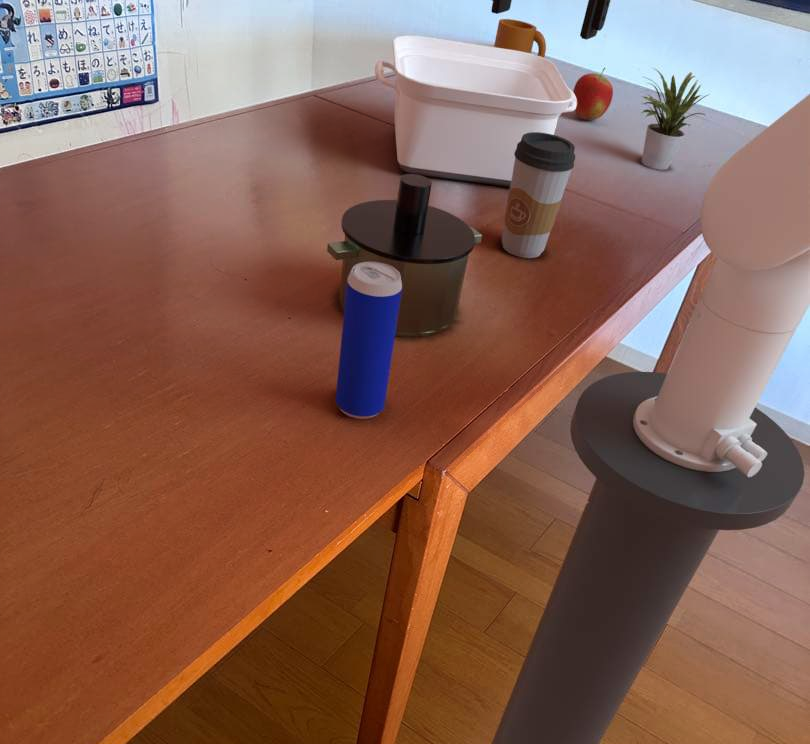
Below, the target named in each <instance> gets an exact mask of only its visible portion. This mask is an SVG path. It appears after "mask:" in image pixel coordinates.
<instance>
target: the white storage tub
mask: <svg viewBox="0 0 810 744" xmlns="http://www.w3.org/2000/svg"><path fill="white" fill-rule="evenodd" d="M391 41H392V51H393V64H392V63H390V62H387V61H386V60H382V59H379V60H377V61H376V64H375V67H374V75H375V79H377V81H379V82H380V83H381V84H382V85H384V86H386V87H390V88H392V89H394V91H395V99H394V100H395V101H394V102H395V104H394V129H395V130H394V132H395V145H396V156H397V162H398V165H399V168H400V169H401V170H402V171H403V172H405V173H406V174H416V175H421V176H424V177H434V178H442V179H448V180H455V181H463V182H471V183H479V184H487V185H494V186H500V187H501V186H502V187H509V188H510V186H511V180H512V174H513V168H514V162H515V155H514V153H515V151H516V149H517V144H518V143H519V142H520V141H521V139H522V136H523V135H524V134H526V133H531V132H540V133H547V134H552V135H555V132H556V128H557V124H558V122H559V117H560V116H561V114H562V113H571V112H575V109H576V106H577V99H576V96H575V94H574V93H573V91H574V90H572V89H570V88H569V87H568V85H567V83H566V81H565V80H564V78H563V76H562V75H561V72H560V71H559V69H558V68H557V65H556V64H555V63H553V61H551V60H549V59H548V58H545V57H544V58H543V57H540V56H537V55H538V54H534V53H532V52H531V53H526V52H521V51H516V50H509V49H503V48H496V47H494V46H488V45H482V44H478V43H477V44H476V43H469V42H463V41H457V40H450V39H443V38H437V37H430V36H424V35H413V34H412V35H411V34H410V35H408V34H407V35H399V36H395V37H394V38H393V39H392V40H391ZM384 68H389V69H391V70H392V71H393V72H394V75H395V83H394V82H391V81H390V80H388V79H387V78H385V76H384V70H385V69H384Z"/></svg>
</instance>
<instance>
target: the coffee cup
mask: <svg viewBox="0 0 810 744" xmlns="http://www.w3.org/2000/svg"><path fill="white" fill-rule="evenodd" d="M575 150H576V147H575V145H574V143H573V142H571V141H570V140H569V139H566V138H565V137H561V136H559V135H555V134H554V135H552V134H547V133H540V132H531V133H526V134H524V135H523V136H522V139H521V141H520V142H519V143H518V144H517V149H516V151H515V153H514V155H515V162H514V168H513V174H512V180H511V186H510V187H509V189H508V196H507V202H506V208H505V214H504V225H503V229H502V236H501V244H502V248H503V250H505V251H506V252H507V253H508V254H511V255H513V256H515V257H519V258H525V259H532V258H538V257H539V256H541V254H542V253H544V251H545V249H546V245H547V242H548V239H549V237H550V234H551V231H552V229H553V227H554V224H555V221H556V219H557V216H558V212H559V210H560V206H561V204H562V200H563V195H564V192H565V189H566V187H567V185H568V180H569V178H570V175H571V172H572V170H573V169H574V167H575V160H576V154H575Z"/></svg>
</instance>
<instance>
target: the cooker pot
mask: <svg viewBox="0 0 810 744" xmlns="http://www.w3.org/2000/svg"><path fill="white" fill-rule="evenodd" d="M469 227H470V228H471V229H472V231H473V233H474V235H475V244H481V243H482V239H483V238H482V237H483V235H482V234H481V233H480V232H479V231H477V230H476V228H474V227H473V226H469ZM326 249H327V250H326V252H327V253H328V254H329V255H330V256H331V257H332V258H333V259H334V260H335V261H340V260H341V261H342V262H341V263H342V264H341V272H340V273H341V274H340V284H339V285H340V286H339V303H340V307H341V309H342V310H343V312H344V309H345V298H346V288H347V279H348V276H349V274H350V272H351V269H352V268H353V266H355V265H356V264H359V263H362V262H379V263H383V264H387V265H389V266H392V267H394V268H395V269H396V270H398V271H399V273H400V275H401V282H402V292H401V299H400V306H399V312H398V319H397V326H396V332H395V337H402V338H423V337H429V336H432V335H436V334H439V333H442V332H444V331H446V330H447V329H449V328H450V327H451V326H452V325H453V323H454V321H455V318H456V315H457V313H458V308H459V304H460V299H461V295H462V291H463V290H462V289H463V284H464V280H465V276H466V275H465V274H466V271H467V270H466V269H467V265H468V260H469V255H470V253H469V254H468V255H467V256H465V257H463V258H461V259H459V260H456V261H452V262H448V263H441V264H415V263H407V262H401V261H396V260H391V259H388V258H384V257H381V256H378V255H375V254H373V253H371V252H368V251H366V250H364V249H362V248H360V247H359V246H357V245H356V244H354V243H353V242H352V241H350V240H349V239H348V238H347V236H346V235H345V234H344V240H342V241H333V242H328V243H327V246H326Z"/></svg>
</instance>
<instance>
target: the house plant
mask: <svg viewBox="0 0 810 744" xmlns="http://www.w3.org/2000/svg"><path fill="white" fill-rule="evenodd" d="M652 69H654V70H655V71H656V72H657V73H658V74H659V76H660V79H661V81H662V87H663V91H662V89H661V88H660V86H659V85H658V84H657V83H656V82H655V81H654V80H652V79H650V78H648V77H645V76H643V78H644V79H647V80H649V81H651V82H652V83H654V84H655V85H656V86H657V87H658V88H657V87H656V86H655V85H654V84H652V83H650V82H647V84H649V85H651V86H652V87H654V89H655V90H656V93H657V97H658V99H656V98H654V97H653V96H651V95H650V94H649V93H646V94H647V95H648V96H643V95H642V96H641V97H642V98H643V99H645V100H647V101H646V102H644V103H643V102H641V105H645V106H648V108H649V109H644V110H643V111H642V112H641V114H643V113H647V114H646V115H645V117H644V119H646V118H647V117H651V116H654V117H655V119H656V122H657V123H650V124H648V125H647V126H646V127H647V128H646V133H645V139H644V145H643V151H642V156H641V163H642V164H643V166H646V167H648V168H651V169H654V170H663V171H664V170H667V169H669V166H670V165H671V164H672V163H671V162H672V161H673V158H674V157H675V155H676V153H677V151H678V149H679V147H680V145H681V144H682V142H683V140H684V138H685V134H686V133H685V131H683V130H681V128H682V127H684V126H688V127H690V126H691V124H689V123H686V122H684V121H685V120H686V119H688V118H689V117H692V116H694V115H703V116H706V114H705V113H703V112H695V113H692V114H689V115H686V116H685V114H686V113H687V112H688V111H689V110H690V109H691V108H692V107H694V106H695V105H696V104H697V103H699V102H700V101H702V99H704V98H706V97H707V96H709V94H707V95H702V94H699V95H697V94H698V92H699V90H700V88H701V86H702V84H700V85H699V86H697V84H698V81H699V79H696V80H695V82H694V84H693V85H692V86H691V88H690V89H689V91H688V93H686V95H685V97H684V98H683V96H684V94H685V91H686V89H687V86H688V85H689V83H690V82H691V80H692V79H693V78H695V77H696V75H693V73H692V72H691V71H690V72H689V73H687V75H686V76H684V79H683V80H682V82H681V84H680V87H679V88H678V92H677V85H676V78H675V75H674V74H672V76H671V79H670V80H671V81H670V85H669V87H668V83H667V81H666V79H665V77H664V75H663V74H662V73H661V72H660V71H659V70H658V69H656V68H654V67H652ZM696 86H697V88H696ZM695 88H696V89H695ZM658 89H659V90H658ZM663 92H664V93H663ZM660 93H661V94H660ZM661 95H662V98H663V101H664V102H662V99H661ZM682 99H683V100H682ZM681 101H682V102H681ZM648 104H649V105H652V106H653V108H652V107H651V106H649V105H648ZM664 114H665V115H664Z"/></svg>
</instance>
